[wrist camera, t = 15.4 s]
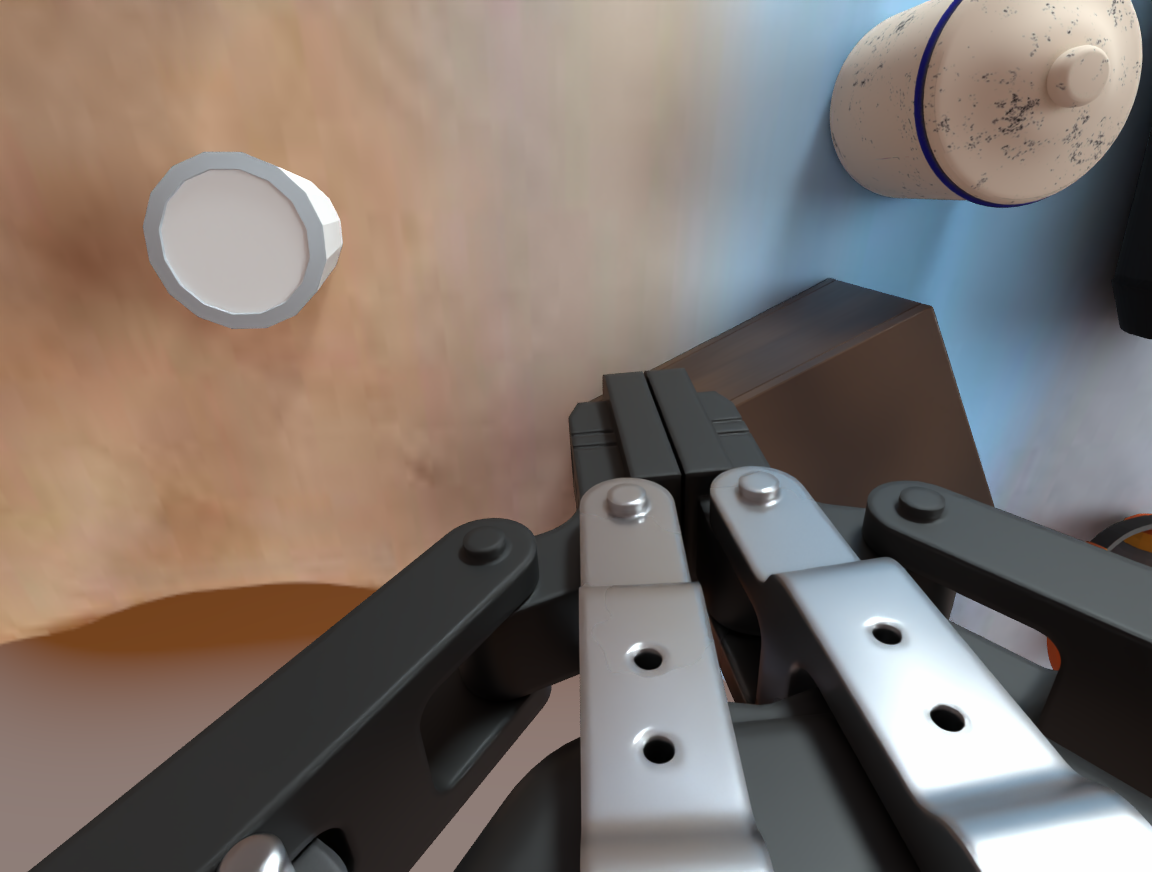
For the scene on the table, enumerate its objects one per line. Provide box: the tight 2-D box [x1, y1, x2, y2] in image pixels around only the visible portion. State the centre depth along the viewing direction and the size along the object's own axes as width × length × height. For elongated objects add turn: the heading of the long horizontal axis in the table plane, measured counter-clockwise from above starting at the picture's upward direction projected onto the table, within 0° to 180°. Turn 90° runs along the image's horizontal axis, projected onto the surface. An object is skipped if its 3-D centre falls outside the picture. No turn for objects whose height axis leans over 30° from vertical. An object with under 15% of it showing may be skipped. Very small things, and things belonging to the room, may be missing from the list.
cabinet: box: [589, 278, 994, 508], centre depth 37 cm, size 15×13×10 cm
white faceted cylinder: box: [143, 152, 343, 329], centre depth 32 cm, size 7×7×7 cm
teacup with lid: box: [830, 0, 1142, 208], centre depth 31 cm, size 12×9×12 cm
